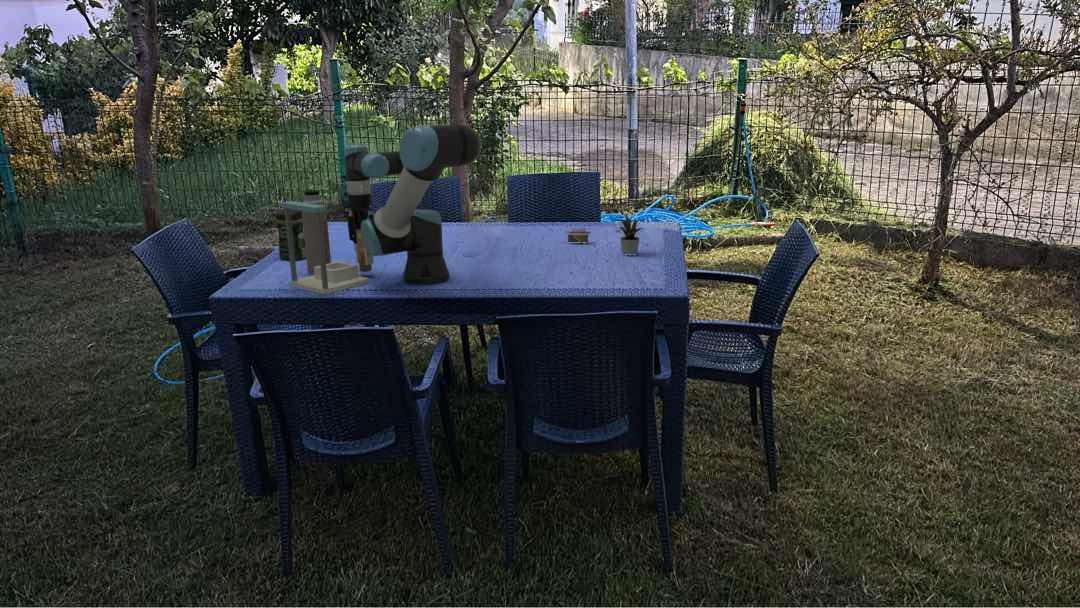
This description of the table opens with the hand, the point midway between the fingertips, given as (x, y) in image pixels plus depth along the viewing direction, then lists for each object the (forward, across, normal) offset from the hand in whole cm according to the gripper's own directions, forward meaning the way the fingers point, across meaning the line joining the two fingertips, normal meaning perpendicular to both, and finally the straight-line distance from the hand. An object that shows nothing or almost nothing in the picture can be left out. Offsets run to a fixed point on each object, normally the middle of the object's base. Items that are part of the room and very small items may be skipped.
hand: (365, 262), depth 260 cm
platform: (+5, -28, -84) cm, 88 cm away
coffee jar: (+4, +44, -2) cm, 44 cm away
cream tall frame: (+5, +1, +14) cm, 15 cm away
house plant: (+5, -54, -78) cm, 95 cm away
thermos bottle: (+5, +17, +6) cm, 19 cm away
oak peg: (+3, 0, 0) cm, 3 cm away
